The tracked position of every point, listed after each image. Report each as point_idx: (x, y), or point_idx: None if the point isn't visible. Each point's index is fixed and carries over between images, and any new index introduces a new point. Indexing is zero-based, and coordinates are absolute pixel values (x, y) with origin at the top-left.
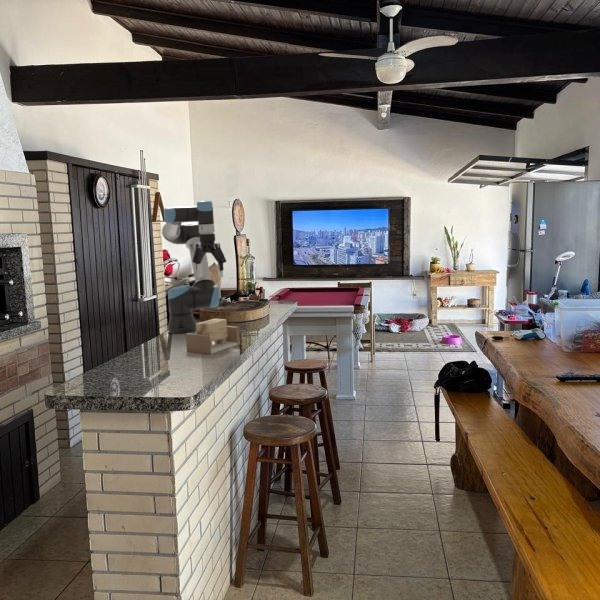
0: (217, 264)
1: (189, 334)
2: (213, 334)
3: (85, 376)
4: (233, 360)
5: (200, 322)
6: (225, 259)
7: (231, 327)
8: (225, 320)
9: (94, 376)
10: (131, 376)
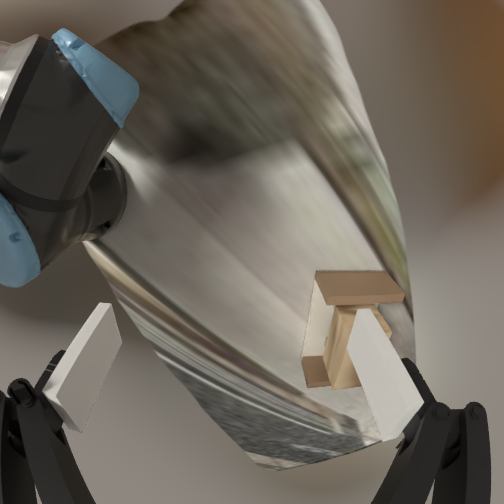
0: (386, 439)
1: (320, 386)
2: None
3: (249, 451)
4: (415, 353)
5: (338, 380)
6: (484, 425)
7: (387, 302)
8: (390, 333)
9: (261, 449)
10: (309, 437)
